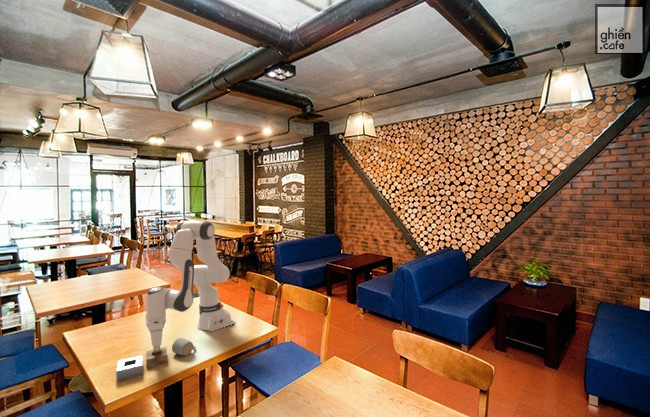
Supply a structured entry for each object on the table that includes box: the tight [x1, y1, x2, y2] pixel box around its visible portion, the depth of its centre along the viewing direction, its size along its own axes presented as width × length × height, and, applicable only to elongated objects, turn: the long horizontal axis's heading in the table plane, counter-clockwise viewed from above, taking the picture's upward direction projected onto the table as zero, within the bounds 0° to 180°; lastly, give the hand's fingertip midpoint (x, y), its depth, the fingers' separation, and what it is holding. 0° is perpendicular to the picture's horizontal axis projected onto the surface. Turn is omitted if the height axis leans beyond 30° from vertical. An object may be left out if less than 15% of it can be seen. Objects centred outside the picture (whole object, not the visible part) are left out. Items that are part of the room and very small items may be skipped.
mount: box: [145, 346, 168, 368], centre depth 153 cm, size 9×9×4 cm
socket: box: [115, 355, 144, 383], centre depth 143 cm, size 10×10×5 cm
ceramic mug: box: [171, 337, 196, 357], centre depth 162 cm, size 11×8×8 cm
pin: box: [152, 345, 161, 355], centre depth 153 cm, size 4×4×10 cm
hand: (156, 347), depth 153 cm, fingers closed on pin, 3 cm apart
